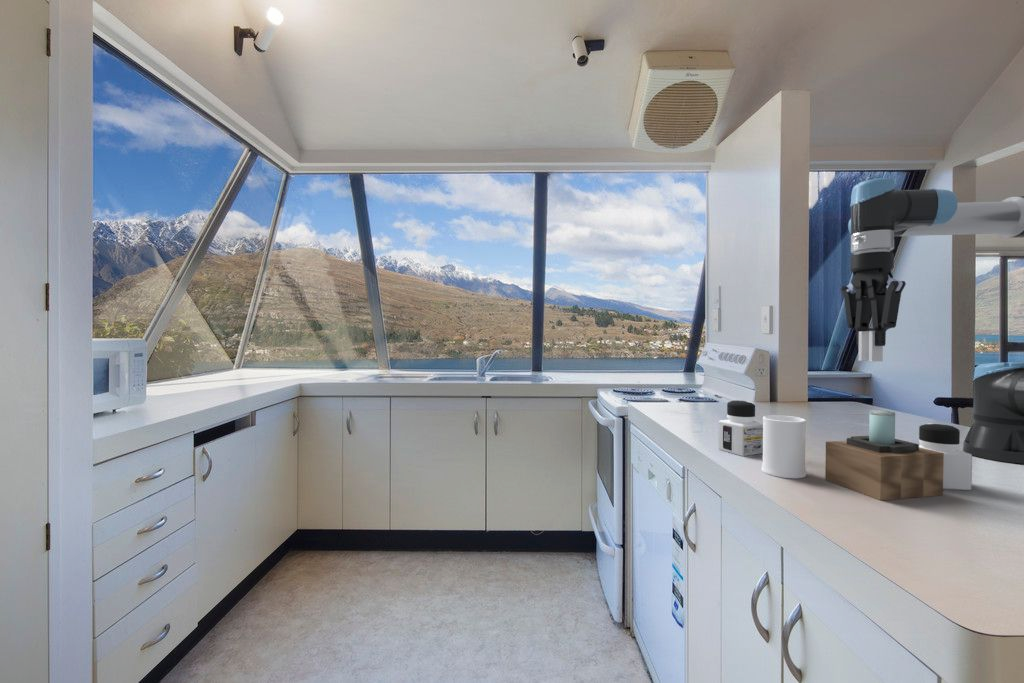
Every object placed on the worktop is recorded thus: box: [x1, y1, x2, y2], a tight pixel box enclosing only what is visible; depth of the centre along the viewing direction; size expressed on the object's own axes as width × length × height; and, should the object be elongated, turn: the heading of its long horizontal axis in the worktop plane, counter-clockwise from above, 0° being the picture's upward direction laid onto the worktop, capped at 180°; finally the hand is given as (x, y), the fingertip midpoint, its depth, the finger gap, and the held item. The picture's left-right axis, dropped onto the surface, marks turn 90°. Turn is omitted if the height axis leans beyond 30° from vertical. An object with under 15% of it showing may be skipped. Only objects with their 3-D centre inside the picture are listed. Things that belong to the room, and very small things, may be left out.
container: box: [717, 399, 763, 457], centre depth 120 cm, size 8×8×13 cm
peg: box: [868, 409, 896, 445], centre depth 92 cm, size 4×4×9 cm
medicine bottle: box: [918, 422, 973, 491], centre depth 94 cm, size 7×7×12 cm
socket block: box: [824, 435, 944, 501], centre depth 92 cm, size 14×12×9 cm
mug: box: [761, 414, 807, 480], centre depth 104 cm, size 12×8×12 cm
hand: (870, 360), depth 102 cm, fingers open, 2 cm apart
